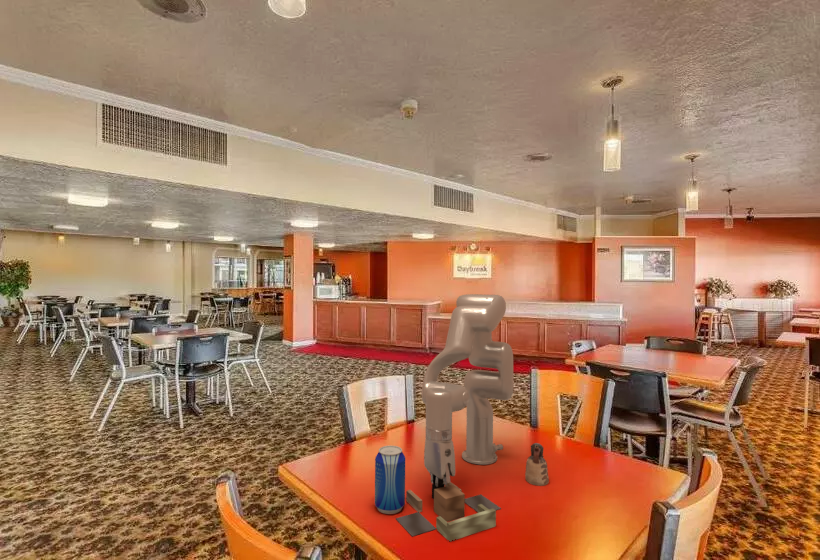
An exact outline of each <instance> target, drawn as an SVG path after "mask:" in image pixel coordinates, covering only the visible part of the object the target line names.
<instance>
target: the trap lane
mask: <svg viewBox="0 0 820 560" xmlns="http://www.w3.org/2000/svg"><path fill="white" fill-rule="evenodd" d="M449 485H453V486H455V487H456V488H457V489H459V490H460V491H461V492H462V489H461V488H460V487H458V486H457V485H455V483H453V482H451V483H450V484H447V485H444V487H445V486H449ZM405 502H407V503H408V504H409V505H410V506H411V507H412V508H413V509H414V510H415V511H416V512H414V513H409V514H406V515H402V516H400V517H396V518H395V520H396V521H397V522H398V524H400V525H401V527H402V528H404V530H405V531H406V532H407V534H409V535H410V536H411V537H416V536H419V535H423V534H426V533H429V532H431V531H435V530H436V529H437V530H436V531H438V532H439V533H440V535H442V536H443V538H445V539H446V540H447V541H448V540H449V541H450V542H453V541H456V540H459V539H462V538H465V537H467V536H470V535H474V534H477V533H480V532H482V531H486V530H489V529H492V528H495V527H496V526H497V511H499V510H502V508H501V507H500V506H499V505H498V504H496V503H495V502H493V501H492V500H489V498H487V497H486V496H484V495H483V494H477V495H476V494H475V495H474V496H470V497H466V498H465V505H467V506H468V507H470V508H471V509H472V510H473V511H475V512H476V513H473V514H470V515H467V516H464V517H461V518H458V519H455V520H451V521H448V522H446V521H445V520H444V519H443V518H442V517H441V516H436V519H435V520H436V521H435V523H436V524H435V526H436V527H435V526H434V525H433V524H432V523H431V522H430V521H429V520H428V519H427V518H426V517H425V516H424V515H423V514H422V513H421V512H423V499H421V498H420V497H419V495H417V494H416V493H414V491H412V489H408V490H407V489H406V490H405ZM455 539H456V540H455ZM452 540H453V541H452ZM449 541H448V542H449Z"/></svg>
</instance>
